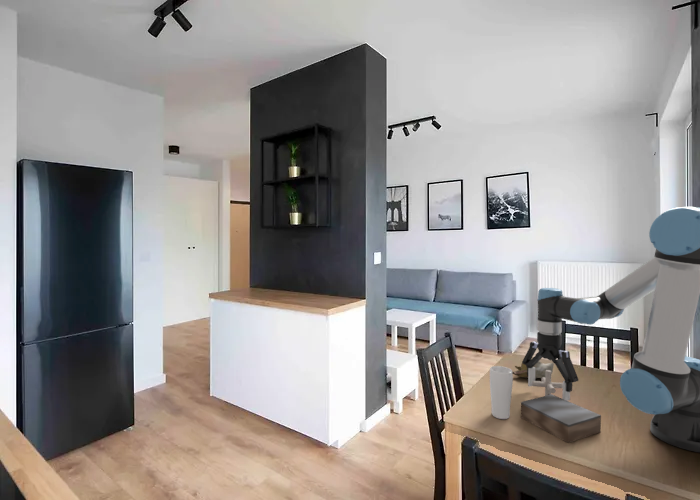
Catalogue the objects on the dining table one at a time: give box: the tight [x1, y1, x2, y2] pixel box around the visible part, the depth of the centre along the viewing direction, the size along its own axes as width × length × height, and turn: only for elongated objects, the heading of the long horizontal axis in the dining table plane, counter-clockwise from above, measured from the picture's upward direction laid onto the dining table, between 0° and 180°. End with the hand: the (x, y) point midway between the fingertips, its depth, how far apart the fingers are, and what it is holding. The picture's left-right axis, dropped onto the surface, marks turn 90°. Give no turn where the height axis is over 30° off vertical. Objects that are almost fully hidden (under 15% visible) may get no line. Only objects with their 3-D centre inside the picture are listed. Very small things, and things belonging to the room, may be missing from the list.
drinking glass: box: [489, 365, 514, 420], centre depth 120 cm, size 7×7×15 cm
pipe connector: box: [532, 370, 563, 396], centre depth 133 cm, size 10×10×10 cm
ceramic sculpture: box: [513, 359, 555, 379], centre depth 153 cm, size 11×9×15 cm
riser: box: [520, 393, 602, 443], centre depth 115 cm, size 16×14×5 cm
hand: (548, 392), depth 133 cm, fingers open, 13 cm apart
